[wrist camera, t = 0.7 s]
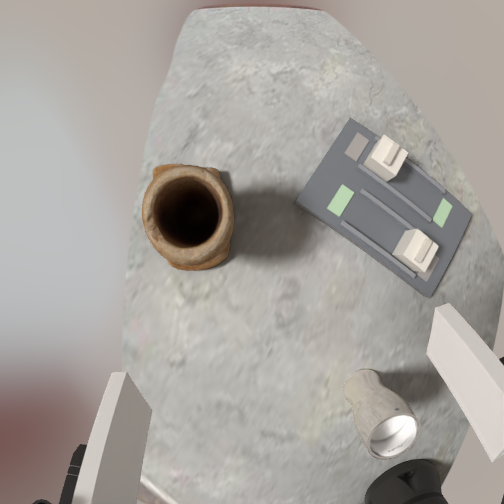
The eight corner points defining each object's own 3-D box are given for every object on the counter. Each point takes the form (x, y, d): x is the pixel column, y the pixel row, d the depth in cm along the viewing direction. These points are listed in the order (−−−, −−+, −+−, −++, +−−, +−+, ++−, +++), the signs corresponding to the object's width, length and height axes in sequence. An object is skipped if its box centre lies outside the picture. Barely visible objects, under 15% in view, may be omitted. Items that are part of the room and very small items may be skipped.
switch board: (465, 215, 40) (475, 213, 37) (424, 296, 41) (433, 298, 38) (347, 123, 42) (351, 114, 39) (294, 203, 42) (295, 199, 39)
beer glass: (336, 374, 42) (361, 425, 27) (379, 359, 41) (421, 402, 26) (343, 411, 42) (368, 468, 27) (385, 397, 41) (422, 447, 26)
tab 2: (425, 246, 39) (441, 246, 34) (412, 270, 39) (427, 272, 34) (405, 230, 39) (420, 228, 34) (391, 254, 39) (405, 255, 35)
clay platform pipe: (250, 262, 43) (238, 267, 28) (168, 274, 44) (120, 283, 29) (235, 156, 43) (217, 112, 28) (156, 172, 44) (109, 139, 29)
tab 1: (397, 160, 39) (410, 150, 34) (385, 182, 39) (398, 174, 35) (375, 144, 39) (386, 132, 35) (362, 165, 40) (372, 155, 35)
